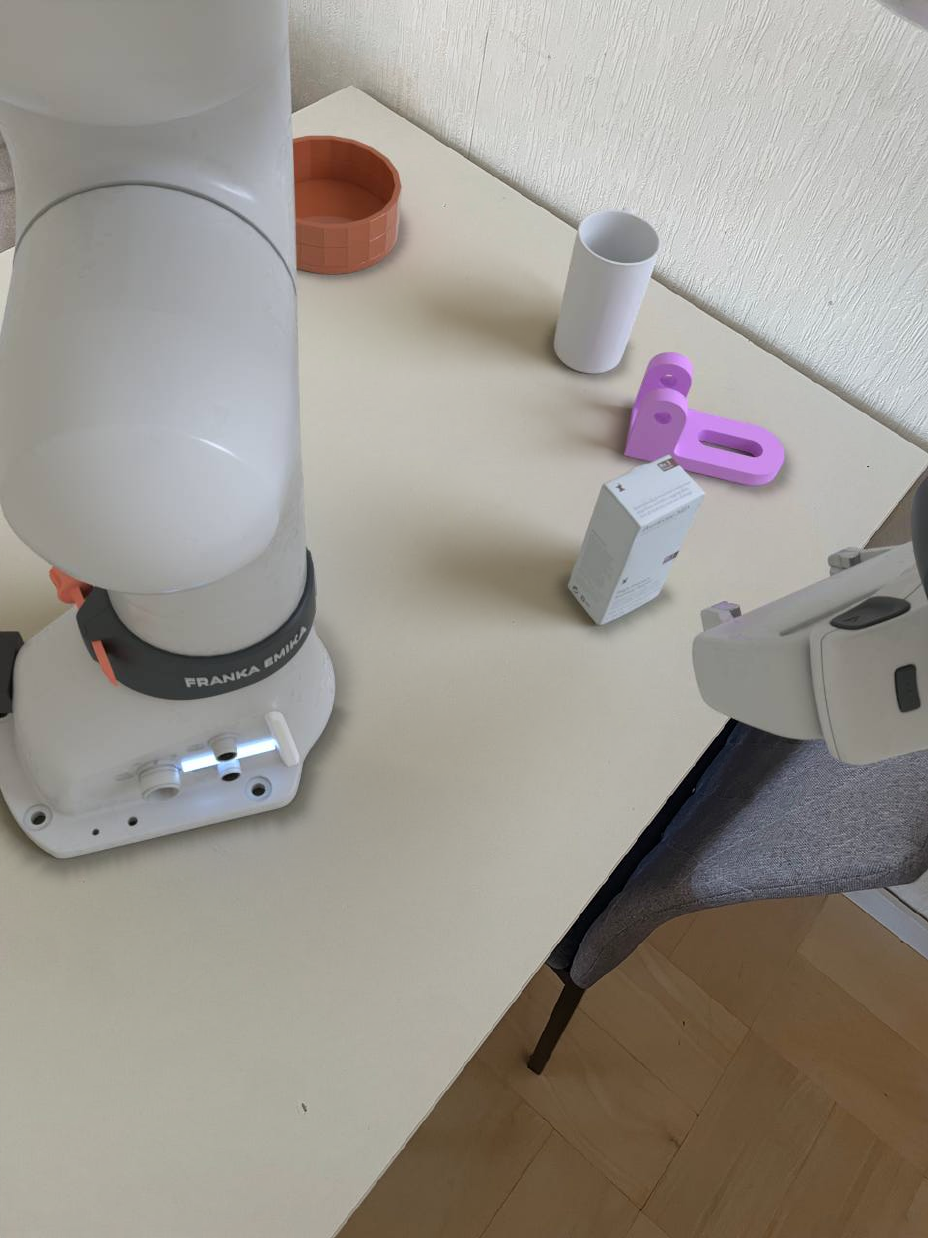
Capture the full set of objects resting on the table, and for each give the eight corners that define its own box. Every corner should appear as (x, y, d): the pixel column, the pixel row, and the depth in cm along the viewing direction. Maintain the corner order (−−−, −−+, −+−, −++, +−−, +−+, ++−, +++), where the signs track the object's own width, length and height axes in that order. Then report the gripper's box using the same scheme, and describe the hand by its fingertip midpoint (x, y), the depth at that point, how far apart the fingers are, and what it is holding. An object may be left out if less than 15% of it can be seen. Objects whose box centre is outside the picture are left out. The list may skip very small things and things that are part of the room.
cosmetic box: (598, 629, 76) (640, 531, 65) (563, 585, 77) (598, 483, 67) (662, 595, 78) (711, 495, 68) (626, 553, 80) (669, 449, 69)
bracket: (624, 455, 85) (645, 395, 79) (632, 407, 88) (654, 347, 82) (776, 492, 85) (809, 435, 79) (780, 443, 88) (812, 385, 82)
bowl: (289, 288, 91) (287, 241, 87) (234, 199, 97) (230, 151, 92) (421, 254, 95) (425, 208, 91) (361, 170, 101) (363, 123, 97)
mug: (616, 385, 89) (652, 274, 79) (542, 364, 89) (569, 250, 79) (637, 312, 94) (674, 199, 84) (568, 292, 95) (596, 177, 85)
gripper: (1125, 501, 50) (901, 484, 62) (803, 652, 43) (623, 599, 55) (1133, 621, 52) (913, 581, 64) (824, 783, 45) (646, 703, 57)
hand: (776, 590), depth 60 cm, fingers open, 8 cm apart
